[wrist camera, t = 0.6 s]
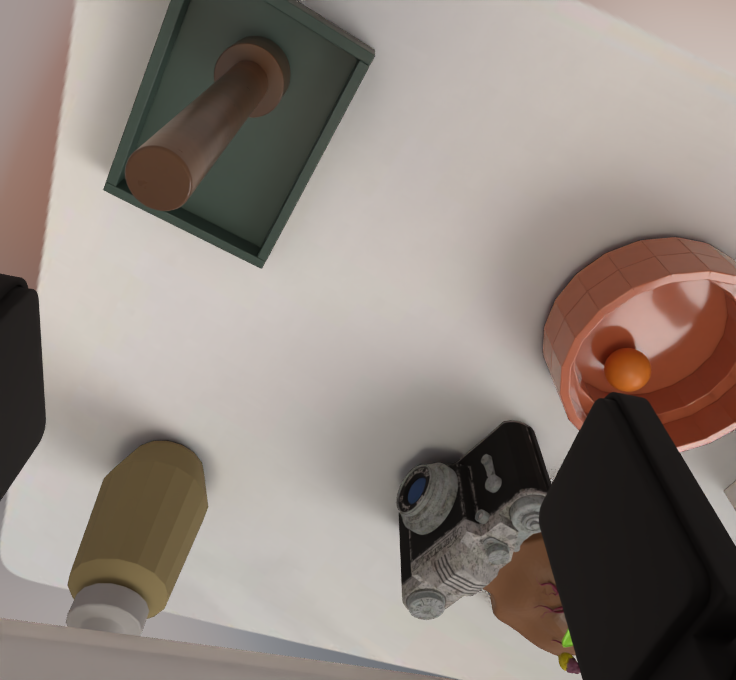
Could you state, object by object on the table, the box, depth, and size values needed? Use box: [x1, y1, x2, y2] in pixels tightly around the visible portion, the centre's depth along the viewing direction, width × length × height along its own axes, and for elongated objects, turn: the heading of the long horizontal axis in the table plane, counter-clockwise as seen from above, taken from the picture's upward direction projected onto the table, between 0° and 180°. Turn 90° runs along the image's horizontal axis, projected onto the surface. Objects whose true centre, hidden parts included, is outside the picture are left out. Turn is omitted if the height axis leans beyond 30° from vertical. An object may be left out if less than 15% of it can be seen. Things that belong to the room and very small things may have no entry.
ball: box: [604, 348, 651, 392], centre depth 43 cm, size 3×3×3 cm
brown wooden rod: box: [125, 36, 290, 211], centre depth 27 cm, size 4×4×19 cm
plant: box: [483, 532, 581, 674], centre depth 53 cm, size 20×20×11 cm
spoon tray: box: [104, 0, 375, 269], centre depth 36 cm, size 14×10×2 cm
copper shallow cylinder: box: [543, 237, 736, 452], centre depth 42 cm, size 14×14×6 cm
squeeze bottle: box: [66, 441, 208, 636], centre depth 44 cm, size 8×8×18 cm
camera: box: [397, 421, 551, 620], centre depth 47 cm, size 15×7×10 cm, turn 142°
